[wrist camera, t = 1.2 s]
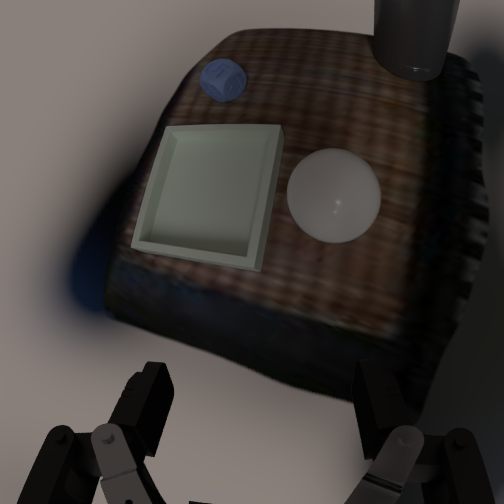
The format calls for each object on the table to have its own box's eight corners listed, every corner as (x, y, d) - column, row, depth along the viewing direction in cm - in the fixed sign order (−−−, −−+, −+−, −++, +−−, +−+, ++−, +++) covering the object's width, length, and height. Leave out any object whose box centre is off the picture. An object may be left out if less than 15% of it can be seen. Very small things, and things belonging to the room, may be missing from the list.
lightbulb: (285, 222, 28) (258, 169, 18) (338, 182, 28) (337, 113, 18) (328, 276, 26) (326, 251, 16) (382, 233, 26) (409, 184, 16)
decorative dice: (229, 107, 33) (218, 86, 29) (206, 96, 34) (194, 76, 31) (250, 85, 33) (241, 63, 29) (227, 75, 34) (216, 55, 31)
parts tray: (176, 137, 34) (166, 126, 32) (284, 138, 30) (280, 124, 28) (144, 252, 32) (130, 247, 29) (260, 272, 28) (253, 267, 26)
